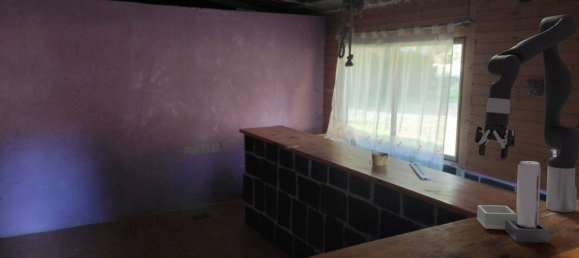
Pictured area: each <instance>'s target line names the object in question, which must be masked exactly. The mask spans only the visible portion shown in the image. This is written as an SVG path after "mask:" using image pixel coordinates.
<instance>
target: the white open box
mask: <svg viewBox="0 0 579 258" xmlns="http://www.w3.org/2000/svg"><path fill="white" fill-rule="evenodd" d="M476 210H477V212H476V213H477V214H476V220H477V221H478V222H479V223H480V225H481V226H483V228H484V229H487V230H489V229H490V230H492V229H493V230H505V224H506V220H516V211H514V210H512V209H511V208H510V207H509V206H507V205H495V204H494V205H492V204H491V205H489V204H488V205H486V204H485V205H484V204H483V205H482V204H478V205H477V209H476Z"/></svg>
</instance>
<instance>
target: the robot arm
mask: <svg viewBox="0 0 579 258" xmlns="http://www.w3.org/2000/svg"><path fill="white" fill-rule="evenodd" d="M577 30H578V21H577V19H576V17H575V16H574V15H572V14H560V15H559V14H558V15H553V16H547V17H544V18H543V19H542V20H541V21H540V24H539V33H537V34H535V35H532V36H530V37H528V38H526V39H524V40H522V41H520V42H518V43H517V44H516V45H514V46H513V47H511V48H509V49H506V50H504V51H502V52H499V53H497V54H495V55H494V56H492V57H491V58H490V59H489V61H488V63H487V71H488V72H489V74H491V75H493V76H496V77H497V76H498V77H499V76H500V78H499V80H498V81H494V82H492V83H491V84H490V86H489V91H488V92H489V94H488V100H487V104H486V109H485V117H484V118H485V119H484V124H485V126H477V127H476V130H475V132H476V133H475V135H474V136H475V137H474V142H475V143H477V144H479V145H478V155H479V156H484V157H485V155H486V148H487V145H486V144H487V143H488V142H489V141H496V142H498V143H499V145H500V146H501V148H500V155H499V158H500V160H506V158H507V157H508V153H509V149H510V148H514V147H515V145H516V144H515V141H516V130H514V129H508V125H509V119H510V111H511V99H512V98H511V97H512V90H513V86H514V84H515V82H516V80H517V77H518V75H519V73H520V69H521V65H524V64H525V63H527V62H529V61H531V59H533V58H534V57H536V56H537V55H539V54H540V53H542V60H543V61H542V62H543V90H544V91H543V92H544V111H545V112H544V124H543V125H544V126H543V139H544V143H545V145H546V147H548V148H551V149H557V150H559V154H558V155H557V156H552V157H549V158H548V160H547V175H546V176H547V178H546V179H547V180H546V196H545V198H546V199H545V200H546V201H545V208H546V209H547V210H549V211H552V212H557V211H558V212H559V213H572V212H576V211H577V210H576V209H577V192H578V191H577V187H576V186H575V184H576V183H575V182H576V164H577V161H578V159H579V130H578V128H577V127H575V126H572V125H571V126H570V125H561V116H562V115H561V114H562V112H563V111H562V110H563V108H564V106H565V105H566V104H567V102H569V99H570V98H571V95H572V92H573V75H572V72H571V69H570V68H569V67H568V65H567V64H566V62H565V61H564V60H563V58H562V57H561V55H560V52H559V48H558V47H559V46H558V44H559V43H561V42H565V41H566V40H568V39H570V38H572V37H574V36H575V34H576V33H577Z"/></svg>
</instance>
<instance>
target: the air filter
mask: <svg viewBox="0 0 579 258" xmlns="http://www.w3.org/2000/svg"><path fill="white" fill-rule="evenodd" d="M516 180H517V184H516V207H515V208H516V209H515V210H516V211H515V213H516V226H517V227H518V228H521V229H538V222H539V217H540V216H539V215H540V212H539V211H540V191H541V190H540V188H541V165H540V162H538V161H529V160H526V161H525V160H521V161H519V163H518V164H517V179H516Z"/></svg>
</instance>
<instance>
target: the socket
mask: <svg viewBox="0 0 579 258" xmlns="http://www.w3.org/2000/svg"><path fill="white" fill-rule="evenodd" d="M504 230H505V233H506V234H508V235H509V236H510V238H511V239H512V240H514V242H516V243H544V244H549V243H550V234H551V232H550V231H551V230H550V229H548V227H546V226H545V225H544V224H542V222H540V221H538V229H521V228H518V227H517V226H516V220H506V224H505V229H504Z"/></svg>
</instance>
